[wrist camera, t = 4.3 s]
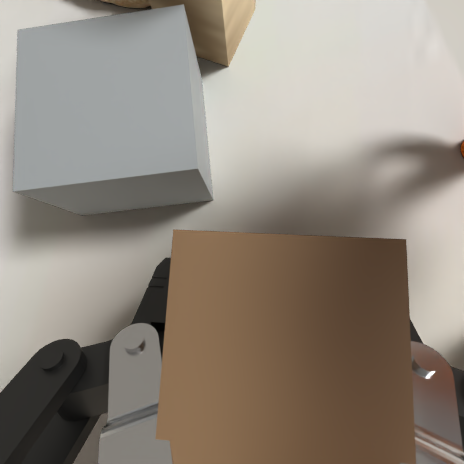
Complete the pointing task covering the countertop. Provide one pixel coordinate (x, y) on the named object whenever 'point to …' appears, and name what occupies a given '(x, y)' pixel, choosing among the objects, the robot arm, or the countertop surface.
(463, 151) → the knife
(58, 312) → the countertop surface
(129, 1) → the fossil
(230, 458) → the walnut block
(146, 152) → the base block
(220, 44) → the oak block
